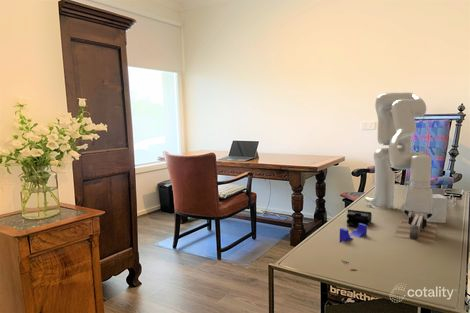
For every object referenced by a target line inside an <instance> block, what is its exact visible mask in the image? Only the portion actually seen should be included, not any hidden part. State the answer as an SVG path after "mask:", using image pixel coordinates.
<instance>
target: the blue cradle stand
mask: <svg viewBox="0 0 470 313" xmlns="http://www.w3.org/2000/svg"><path fill="white" fill-rule="evenodd" d="M367 230H368V226H367V225H365V224H362V223H359V224H358V228H355V229H353V230H352V231H351V232H350V233H349V229H346V228H344V227H340V228H339V244H341V243H343V242H349V241H353V240H354V238H352V237H351V236H353V237H356V238H362V237H366V236H368V235H367Z"/></svg>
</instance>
